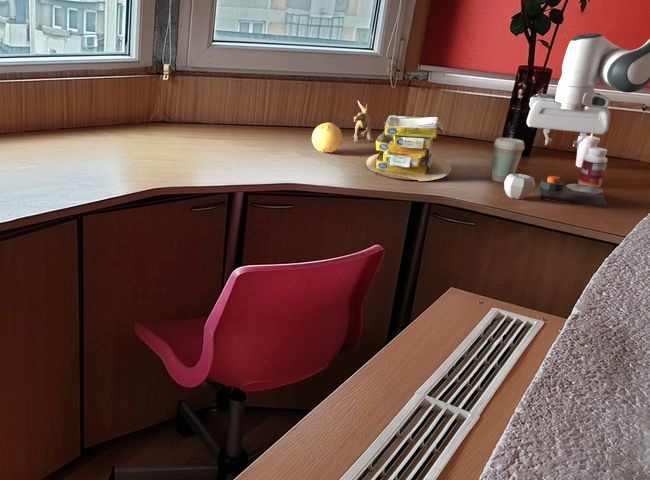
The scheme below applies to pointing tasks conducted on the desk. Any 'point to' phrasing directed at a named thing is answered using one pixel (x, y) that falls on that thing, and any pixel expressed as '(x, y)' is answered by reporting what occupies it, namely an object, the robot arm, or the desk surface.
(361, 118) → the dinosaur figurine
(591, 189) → the scale pan
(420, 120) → the stacked yellow boxes
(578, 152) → the smoothie
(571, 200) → the scale
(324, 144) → the stress ball
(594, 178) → the pill bottle
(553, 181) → the tare button
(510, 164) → the coffee cup
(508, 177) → the white faceted lump
